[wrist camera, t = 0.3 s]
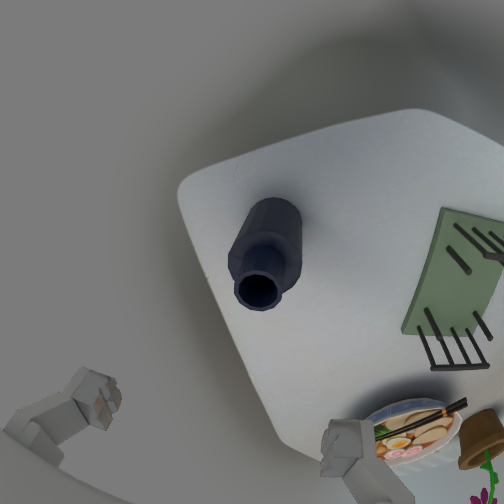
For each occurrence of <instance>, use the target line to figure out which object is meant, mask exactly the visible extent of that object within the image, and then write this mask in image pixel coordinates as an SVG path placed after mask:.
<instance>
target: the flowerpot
mask: <svg viewBox="0 0 504 504" xmlns="http://www.w3.org/2000/svg"><path fill="white" fill-rule="evenodd" d="M459 439H460V447H461V456H460V457H459V460H458V465H459V469H461V470H468V469H471V468H475V467H478V466H480V465H481V466H480V468H481V469H485V470H488V471H489V473H490V481H491V492H490V496H489V501H488V504H497V499H496V498H493V494H494V490H495V487H494V483H495V484H497V483H498V482H499V481H498V476H497V473H496V472H493V468H492V464H491V461H490V460H492V459H493V458H495V457H496V456H498V455H499V454H501V453H502V452H503V451H504V427H503V425H502V423H501V422H500V420H499V418H498V416H497V415H496V413H495V411H494V410H492V409H487V410H483V411H481V412H479V413H476V414H474V415H473V416H471V417H470V418H469V419H467V420H466V421H464V423H463V424H462V425H461V426H460V429H459ZM486 462H487V463H486ZM487 500H488V492H487V490H486V488H483V489H482V492H481V500H480V499H479V498H478V497H477V496H471V497H470V501H471V504H481V501H482V503H483V504H486V502H487Z"/></svg>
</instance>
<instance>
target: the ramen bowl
mask: <svg viewBox="0 0 504 504" xmlns="http://www.w3.org/2000/svg"><path fill="white" fill-rule="evenodd" d="M467 406H468V404H467V399H466V397H464V398H463V399H461V400H459V401H457V402H455V403H453V404H451V405H448V404H446V403H444V402H441V401H437V400H433V399H429V398H417V399H406V400H403V401H399V402H396V403H392V404H389V405H388V406H386V407H384V408H382V409H380V410H378V411H376V412H374V413H372V414H371V415H370V416H369V417H367V418H366V419H365V420H372V422H373V426H374V434H375V442H376V452H377V457H381V458H382V460H383V461H384V462H385V463H386V464H387V465H388V467H395V466H399V465H403V464H406V463H410V462H414V461H416V460H418V459H421V458H423V457H425V456H427V455H429V454H431V453H434V452H435V451H436V450H438V449H439V448H441V447H442V446H444V445H445V444H447V443H448V442H449V441H450V440H451V439H452V438H453V437H454V436H455V434H456V433H457V432H458V431H459V429H460V426H461V422H462V417H461V416H460V415H459V414H458V412H457V411H459V410H461V409H463V408H465V407H467Z"/></svg>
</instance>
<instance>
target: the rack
mask: <svg viewBox="0 0 504 504" xmlns="http://www.w3.org/2000/svg"><path fill="white" fill-rule="evenodd" d="M503 268H504V223H503V222H500V221H496V220H492V219H488V218H484V217H480V216H476V215H472V214H468V213H464V212H460V211H455V210H451V209H447V208H441V211H440V215H439V219H438V222H437V226H436V230H435V233H434V237H433V240H432V244H431V247H430V251H429V254H428V257H427V260H426V263H425V266H424V269H423V272H422V275H421V278H420V281H419V284H418V287H417V289H416V292H415V295H414V297H413V300H412V303H411V305H410V308H409V310H408V313H407V315H406V318H405V320H404V323H403V325H402V327H401V331H402V334H407V335H420V338H421V340H422V343H423V345H424V348H425V350H426V353H427V356H428V358H429V361H430V364H431V367H430V370H431V371H460V370H478V369H488V368H489V367H490V364H489V363H487V362H486V360H485V358H484V356H483V354H482V352H481V350H480V349H479V347H478V345H477V343H476V341H475V339H474V338H473V336H472V335H473V333H474V331H475V329H476V327H477V325H478V324H479V326H480V327H481V329H482V330H483V332H484V334H485V335H486V337H487V339H488V341H491V340H492V339H493V336H492V334H491V333H490V331H489V330H488V328H487V326H486V325H485V323H484V322H483V320H482V319H481V318H482V316H483V313H484V311H485V309H486V307H487V305H488V303H489V301H490V299H491V296H492V294H493V292H494V290H495V287H496V285H497V283H498V280H499V278H500V275H501V273H502V270H503ZM424 335H427V336H436V339H437V340H438V341H440V343H441V346H442V348H443V350H444V352H445V355H446V357H447V359H448V362H449V364H450V365H436V363H435V361H434V358H433V356H432V353H431V351H430V348H429V346H428V343H427V341H426V338H425V336H424ZM443 336H453V337H454V338H455V340H456V342H457V344H458V347H459V349H460V351H461V353H462V355H463V357H464V359H465V361H466V363H467V364H454V362H453V359H452V357H451V355H450V353H449V350H448V348H447V346H446V344H445V342H444V340H443ZM458 336H459V337H469V339H470V340H471V342H472V344H473V346H474V348H475V350H476V352H477V354H478V356H479V358H480V360H481V361H482V363H478V364H471V361H470V359H469V357H468V355H467V353H466V351H465V349H464V347H463V345H462V343H461V341H460V339H459V337H458Z"/></svg>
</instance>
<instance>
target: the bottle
mask: <svg viewBox="0 0 504 504" xmlns="http://www.w3.org/2000/svg"><path fill="white" fill-rule="evenodd" d="M301 268H302V220H301V216H300V214H299V212H298V210H297V209H296V207H295V206H294V205H293V204H291V203H290V202H288V201H286V200H284V199H281V198H274V197H272V198H266V199H263V200H261V201H259V202H258V203H256V204H255V205H254V206H253V207H252V208H251V210H250V212H249V214H248V216H247V218H246V220H245V222H244V224H243V226H242V228H241V230H240V232H239V234H238V236H237V238H236V240H235V242H234V244H233V246H232V248H231V250H230V252H229V254H228V269H229V271H230V274H231V276H232V278H233V280H234V281H235V283H234V294H235V296H236V298H237V299H238V301H239V303H240V304H242V305H243V306H245V307H246V308H248V309H250V310H255V311H266V310H269V309H272V308H274V307H275V306H276V305H277V304H278V303H279V302H280V301H281V299H282V294H283V293H284V292H286V291H287V290H289V289H290V288H292V287H293V286H294V285H295V283H296V282H297V280H298V279H299V277H300V274H301Z"/></svg>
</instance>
